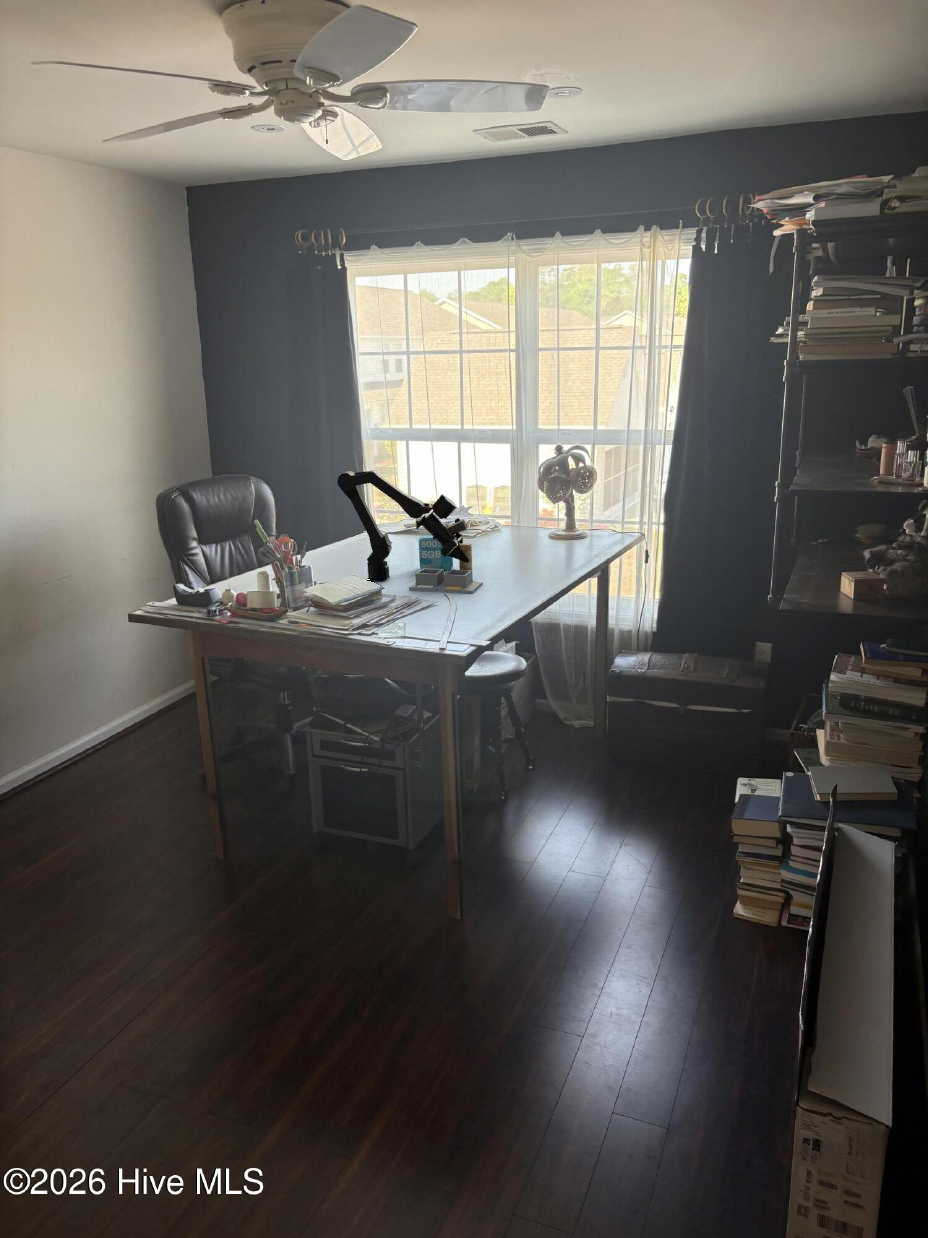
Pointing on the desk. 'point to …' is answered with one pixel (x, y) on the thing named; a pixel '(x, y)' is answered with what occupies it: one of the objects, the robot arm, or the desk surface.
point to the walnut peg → (468, 552)
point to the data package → (432, 554)
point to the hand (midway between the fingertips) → (469, 559)
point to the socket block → (445, 581)
